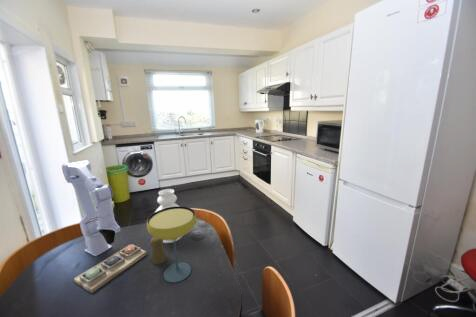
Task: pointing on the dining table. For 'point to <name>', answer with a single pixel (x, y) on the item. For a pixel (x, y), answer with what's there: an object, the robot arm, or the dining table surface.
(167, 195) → the decorative vase
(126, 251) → the terracotta button
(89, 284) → the button board
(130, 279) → the dining table surface
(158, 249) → the cork
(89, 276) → the sage button
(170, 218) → the cocktail glass
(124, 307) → the dining table surface
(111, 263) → the charcoal button
